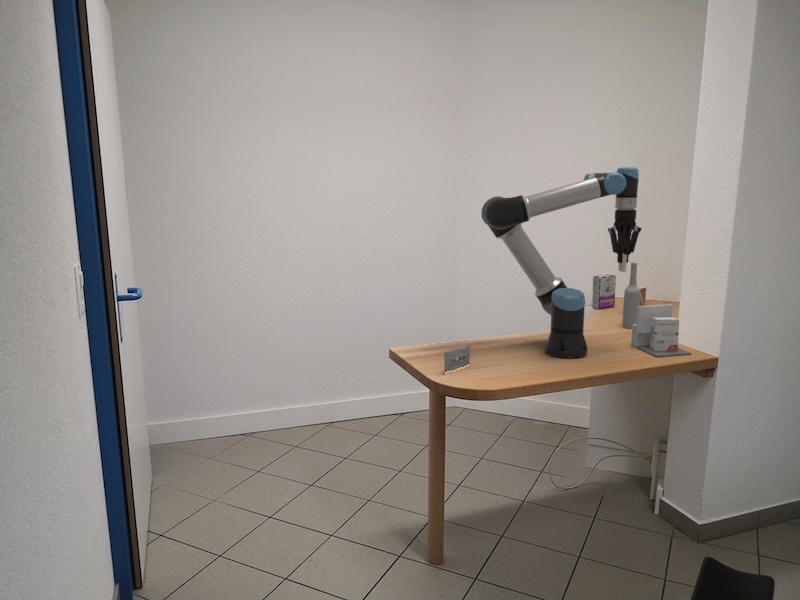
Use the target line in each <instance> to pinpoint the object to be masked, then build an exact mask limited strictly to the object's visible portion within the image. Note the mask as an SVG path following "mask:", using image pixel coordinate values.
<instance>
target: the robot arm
mask: <svg viewBox="0 0 800 600" xmlns="http://www.w3.org/2000/svg"><path fill="white" fill-rule="evenodd" d="M639 175H640V174H639V168H637V167H635V166H634V167H633V166H631V167H630V166H629V167H628V166H627V167H626V166H625V167H621V166H620V167H617V169H616V171H613V172H592V173H586V174H585V175H584V179H582V180H580V181H576V182H572V183H570V184H569V183H568V184H566V185H563V186H559V187H555V188H552V189H548V190H545V191H541V192H538V193H533V194H531V195H528V196H527V195H526V196H524V195H523V194H520V195H517V196H512V197H502V196H499V195H498V196H493V197H491V198H488V199H487V200H486V201H485V202H484V204H483V205H482V208H481V219H482V221H483V222H484V224H485V225H487V227H488V228H489V229H490V231H491V233H492V234H493V235H494V237H495V238H496V239H499V240H500V239H501V240H502V241H503V243H504V244H505V246H506V247H507V249H508V250H509V251H510V253H511V255H512V256H513V257H514V258H515V260H516V262H517V263H518V264H519V266H520V267H521V269H522V271H523V272H524V274H525V275H526V276H527V278H528V279H529V281H530V283H531V284H532V285H533V287H534V288H535V293H534V296H535V297H536V298H537V300H538V301H539V303H540V305H541V307H542V309H543V310H544V312H545V313H547V314H549V316H550V332H549V335H548V338H547V340H546V343H545V346H544V347H545V348H544V352H545V354H547V353H548V354H550V355H549V356H551V355H553V356H552V357H554V356H557V357H556V358H560V357H567V358H566V359H576V358H575V357H581V358H584V357H587V355H588V345H587V342H586V338H585V334H584V324H585V321H584V320H585V309H586V308H585V305H586V299H585V298H586V296H585V294H584V292H583V291H581V290H579V289H576V288H571V287H567V285H566V284H565V282H564V281H563V278H561V277H558V276H555V274H554V273H553V272H552V270H551V268H550V267H549V266H548V264H547V262H546V261H545V260H544V258H543V257H542V255H541V254H540V253H539V251H538V249H537V247H536V246H535V245H534V243H533V241H532V240H531V239H530V238H529V236H528V233H526V231H525V230H524V228H523V227H522V224H523V223H526V222H529V221H530V219H531V218H535V217H539V216H541V215H544V214H547V213H548V214H549V213H551V212H554V211H558V210H562V209H565V208H569V207H572V206H575V205H579V204H583V203H585V202H590V201H592V200H593V201H594V200H598V199H600V198H604V197H607V196H610V195H613V196H615V205H614V208H615V210H614V223H613V225H612V226H611V227H608V228H607V231H608V233H609V235H610V241H611V249H612V252H613V253H615V254H617V259H616V260H617V264H618V272H620V273H621V272H623V273H626V272H627V263H629V258H630V257H629V255H631V254H632V253H634V252H635V249H636V244H637V241H638V238H639V235H640V232H641V231H642V227H640V226H638V225H637V222H636V219H637V210H636V208H637V203H638V189H639V179H640V178H639ZM548 354H547V355H548ZM583 356H584V357H583ZM568 357H570V358H568Z"/></svg>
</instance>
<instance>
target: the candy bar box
mask: <svg viewBox="0 0 800 600" xmlns="http://www.w3.org/2000/svg"><path fill="white" fill-rule="evenodd" d="M616 277H617V276H616V275H615V274H610V273H609V274H600V275H595V276H592V299H591V300H592V301H591V303H592V307H591V308H592V309H593V310H597V311H598V310H606V308H607V309H612V308H615V306H616V305H615V303H616V280H617V279H616ZM611 307H612V308H611Z"/></svg>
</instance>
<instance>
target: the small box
mask: <svg viewBox="0 0 800 600" xmlns="http://www.w3.org/2000/svg"><path fill="white" fill-rule="evenodd" d="M637 287H638V288H639V289H640V306H646V297H647V287H646V286H640V285H639V286H638V285H637Z"/></svg>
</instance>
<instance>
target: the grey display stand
mask: <svg viewBox="0 0 800 600" xmlns="http://www.w3.org/2000/svg"><path fill="white" fill-rule="evenodd" d="M672 316H673V304H671V303H669V304H654V305H651V304H650V305H645V306H637V318H636V324H632V329H631V338H630V339H631V341H630V345H631V346H633V347H634V348H635V349H637V350H640V351H642V352H644V353H646V352H647V353H646V354H648V353H649V354H648V355H650V354H651V356H652V355H653V357H655V358H668V357H667V356H669V357H677V356H678V357H679V356H692V352H690V351H687V350H685V349H682V348H680V347H678V350H677V351H654V350H653V349H651V348H650V341H651V321H652V318H660V317H672Z"/></svg>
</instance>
